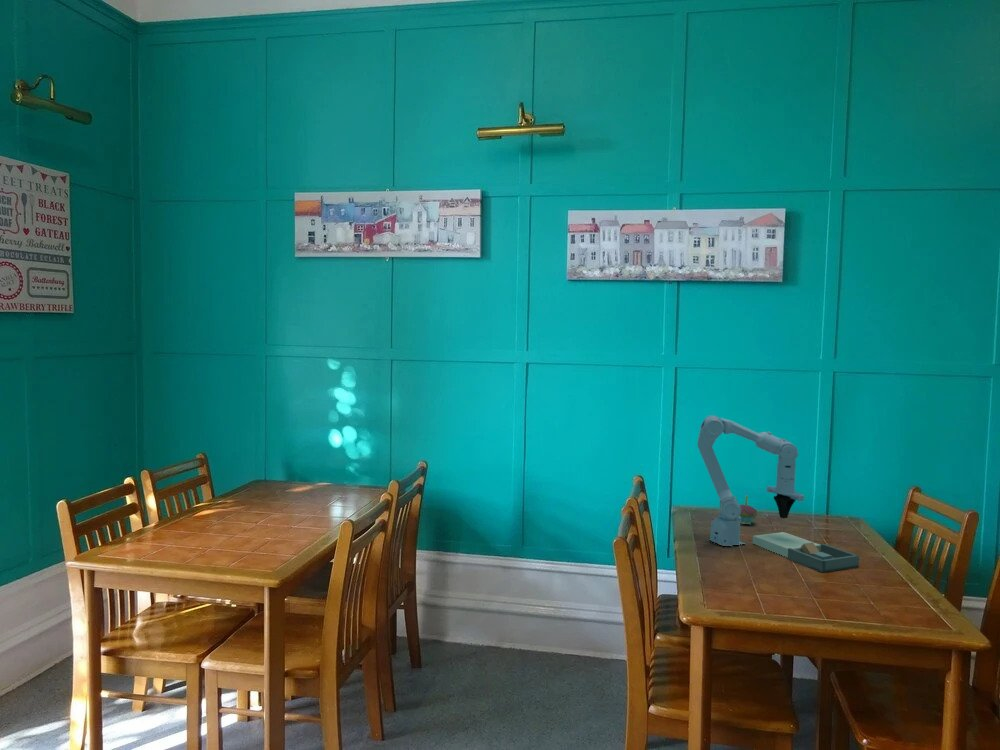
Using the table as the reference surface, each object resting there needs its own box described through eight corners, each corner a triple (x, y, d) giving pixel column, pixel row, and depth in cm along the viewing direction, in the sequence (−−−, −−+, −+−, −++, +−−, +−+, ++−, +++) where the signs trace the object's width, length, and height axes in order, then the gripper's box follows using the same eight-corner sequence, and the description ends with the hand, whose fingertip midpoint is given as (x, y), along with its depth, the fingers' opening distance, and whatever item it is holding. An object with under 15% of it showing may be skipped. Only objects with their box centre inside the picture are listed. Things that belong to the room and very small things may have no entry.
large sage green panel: (788, 558, 228) (789, 549, 228) (752, 544, 243) (753, 535, 242) (820, 553, 234) (821, 545, 233) (783, 540, 248) (783, 532, 248)
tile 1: (807, 557, 227) (811, 554, 226) (800, 547, 230) (803, 543, 229) (816, 556, 229) (820, 552, 228) (809, 545, 232) (812, 542, 230)
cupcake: (758, 527, 265) (760, 495, 264) (734, 525, 266) (736, 494, 265) (753, 521, 273) (755, 490, 272) (731, 519, 274) (732, 489, 274)
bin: (822, 572, 215) (822, 561, 215) (787, 558, 227) (788, 548, 227) (858, 566, 221) (859, 555, 221) (822, 553, 234) (823, 543, 234)
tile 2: (812, 553, 226) (812, 559, 226) (822, 556, 222) (822, 563, 222) (821, 551, 227) (821, 558, 227) (832, 555, 224) (831, 561, 224)
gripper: (811, 481, 233) (809, 522, 234) (778, 472, 246) (776, 511, 247) (795, 482, 230) (793, 523, 231) (762, 474, 243) (760, 512, 244)
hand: (783, 517), depth 239 cm, fingers closed
